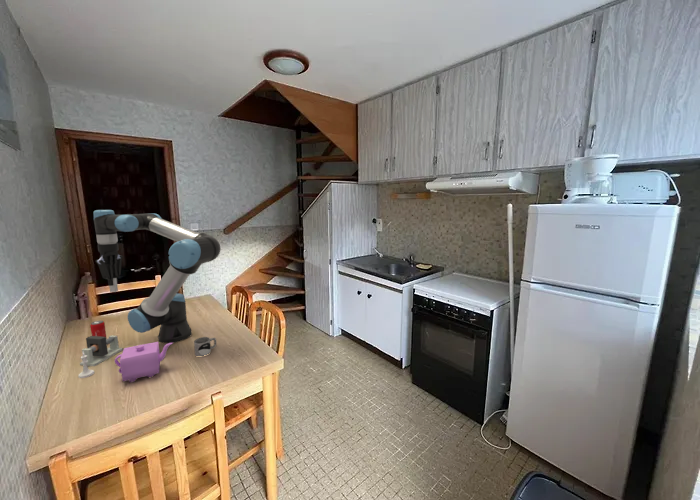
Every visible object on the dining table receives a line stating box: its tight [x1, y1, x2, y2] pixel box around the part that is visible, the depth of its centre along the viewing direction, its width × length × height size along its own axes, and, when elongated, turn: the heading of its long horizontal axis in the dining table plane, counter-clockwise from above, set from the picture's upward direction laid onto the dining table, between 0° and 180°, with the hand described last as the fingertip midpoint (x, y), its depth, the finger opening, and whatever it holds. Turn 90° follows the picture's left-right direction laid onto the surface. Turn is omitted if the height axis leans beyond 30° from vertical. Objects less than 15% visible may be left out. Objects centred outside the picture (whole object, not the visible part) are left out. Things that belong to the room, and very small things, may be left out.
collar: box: [85, 335, 108, 357], centre depth 130 cm, size 2×7×8 cm, turn 84°
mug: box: [193, 336, 217, 357], centre depth 138 cm, size 10×7×7 cm
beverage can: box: [89, 320, 108, 339], centre depth 143 cm, size 5×5×12 cm
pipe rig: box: [79, 335, 124, 367], centre depth 132 cm, size 14×7×7 cm, turn 173°
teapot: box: [114, 341, 174, 383], centre depth 120 cm, size 20×10×12 cm, turn 120°
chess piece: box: [78, 351, 95, 379], centre depth 119 cm, size 5×5×10 cm
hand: (114, 291), depth 141 cm, fingers closed
